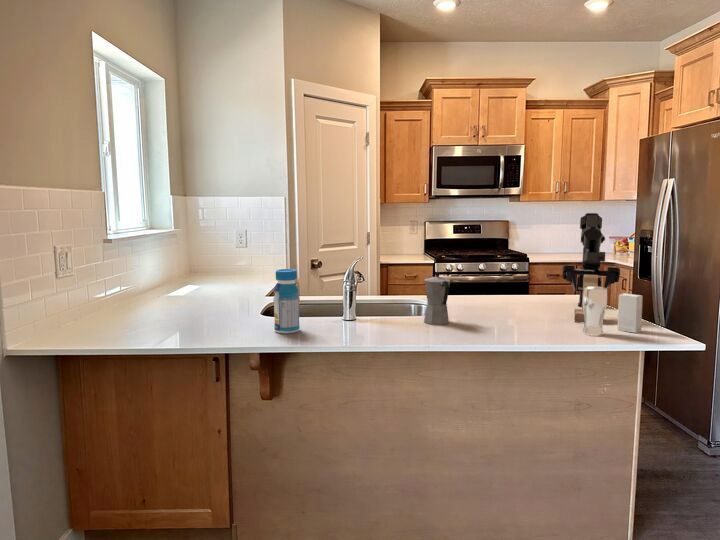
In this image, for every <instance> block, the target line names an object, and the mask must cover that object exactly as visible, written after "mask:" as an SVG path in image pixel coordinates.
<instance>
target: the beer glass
mask: <svg viewBox="0 0 720 540" xmlns="http://www.w3.org/2000/svg"><path fill="white" fill-rule="evenodd" d="M607 305H608V289H607V288H605V287H604V286H601V287H598V286H586V287H584V295H583V310H584V319H585V323H583V329H582V334H583V333H584V334H583V335H587V336H590V335H591V337H602V336H603V335H604V328H603V324H604V323H603V322H604V318H605V314H606V309H607Z"/></svg>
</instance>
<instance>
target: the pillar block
mask: <svg viewBox="0 0 720 540" xmlns="http://www.w3.org/2000/svg"><path fill="white" fill-rule="evenodd" d="M586 286H598V276H597V275H584V280H583V295H584V287H586ZM581 309H582V313H584V310H583V297H582V306H581Z"/></svg>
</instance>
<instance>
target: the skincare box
mask: <svg viewBox="0 0 720 540" xmlns="http://www.w3.org/2000/svg"><path fill="white" fill-rule="evenodd" d="M643 298H644V297H643V295H640V294H633V293H624V292H623V293H620V294H618V307H617V310H618V313H617V330H618V331H623V332H629V333H633V334H638V333H640V332H641V331H642V319H643V317H642V316H643Z"/></svg>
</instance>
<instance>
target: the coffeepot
mask: <svg viewBox="0 0 720 540" xmlns="http://www.w3.org/2000/svg"><path fill="white" fill-rule="evenodd" d="M440 274H441V272H440V271H435V276H432V277H429V278H424V286H425V293H426V301H427V303H426V308H425V314H424V320H423V323H424V324H426V325H430V326H431V325H432V326H446V325H448V324H450V320H449V313H448V312H449V311H448V306H447V305H448V304H447V301H448V297H449V293H450V285H451V280H450V279H449V278H445V277H441V276H440Z"/></svg>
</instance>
